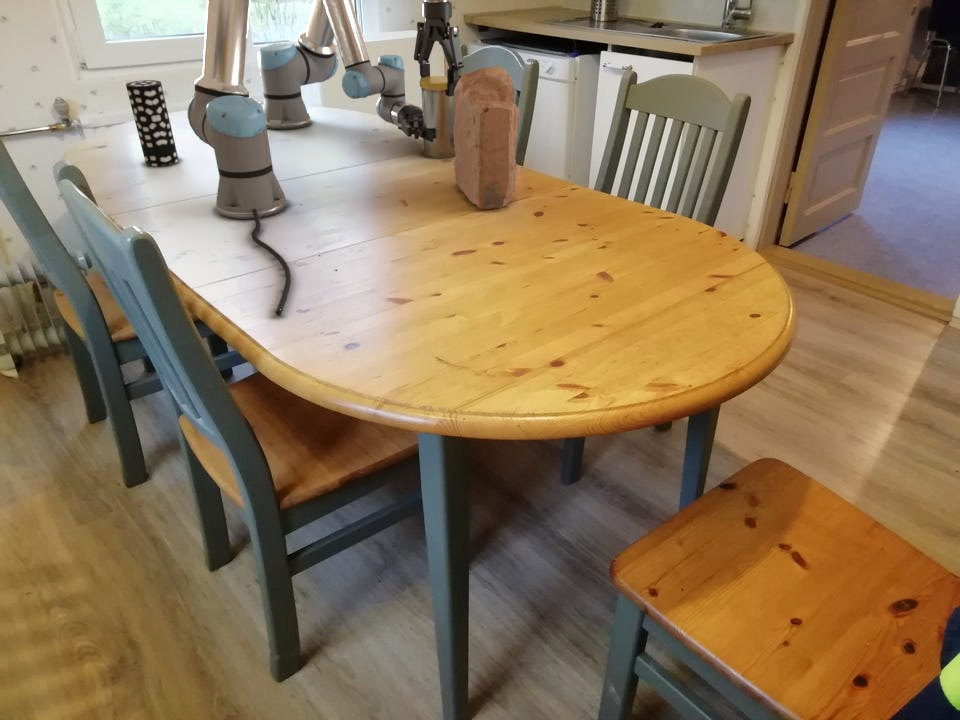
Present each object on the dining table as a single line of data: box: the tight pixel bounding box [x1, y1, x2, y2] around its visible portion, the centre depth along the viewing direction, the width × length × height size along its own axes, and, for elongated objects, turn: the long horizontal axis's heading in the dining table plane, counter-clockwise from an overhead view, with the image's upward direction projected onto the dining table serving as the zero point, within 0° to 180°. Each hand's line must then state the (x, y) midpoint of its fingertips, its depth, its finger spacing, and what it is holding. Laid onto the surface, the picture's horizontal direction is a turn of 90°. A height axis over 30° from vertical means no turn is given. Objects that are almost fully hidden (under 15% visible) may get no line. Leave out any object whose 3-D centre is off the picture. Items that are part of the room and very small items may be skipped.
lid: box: [419, 75, 448, 90], centre depth 186 cm, size 10×10×2 cm
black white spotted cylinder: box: [125, 79, 179, 167], centre depth 181 cm, size 8×8×20 cm
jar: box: [421, 88, 456, 159], centre depth 191 cm, size 9×9×19 cm
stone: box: [453, 66, 520, 210], centre depth 159 cm, size 22×11×28 cm, turn 18°
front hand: (438, 92), depth 187 cm, fingers closed on lid, 10 cm apart
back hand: (447, 134), depth 190 cm, fingers closed on jar, 9 cm apart
